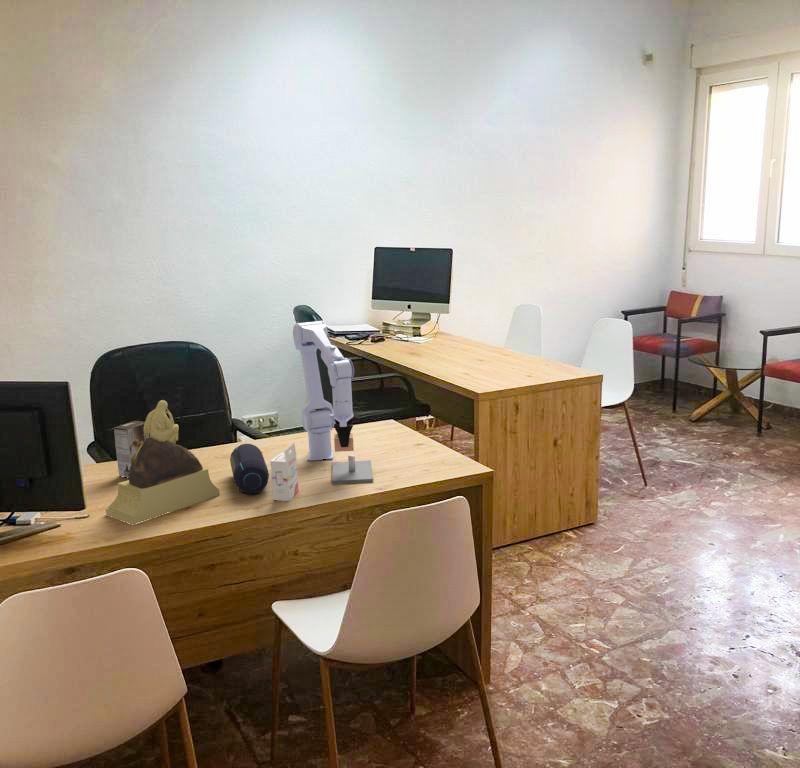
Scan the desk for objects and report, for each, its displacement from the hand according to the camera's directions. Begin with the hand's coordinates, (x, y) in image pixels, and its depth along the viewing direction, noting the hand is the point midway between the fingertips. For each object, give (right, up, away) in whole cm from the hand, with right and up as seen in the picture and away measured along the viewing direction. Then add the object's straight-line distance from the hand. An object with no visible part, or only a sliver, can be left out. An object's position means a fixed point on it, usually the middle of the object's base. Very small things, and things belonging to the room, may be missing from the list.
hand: (344, 443), depth 250 cm
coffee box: (-65, -10, +9) cm, 67 cm away
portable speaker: (-28, -12, -4) cm, 30 cm away
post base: (+2, -9, +2) cm, 10 cm away
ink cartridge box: (-16, -14, -16) cm, 26 cm away
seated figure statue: (-49, -16, -19) cm, 55 cm away
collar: (0, -1, 0) cm, 1 cm away
